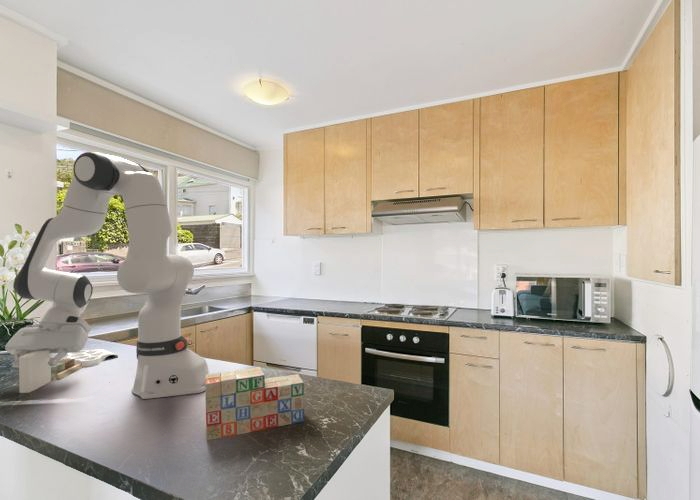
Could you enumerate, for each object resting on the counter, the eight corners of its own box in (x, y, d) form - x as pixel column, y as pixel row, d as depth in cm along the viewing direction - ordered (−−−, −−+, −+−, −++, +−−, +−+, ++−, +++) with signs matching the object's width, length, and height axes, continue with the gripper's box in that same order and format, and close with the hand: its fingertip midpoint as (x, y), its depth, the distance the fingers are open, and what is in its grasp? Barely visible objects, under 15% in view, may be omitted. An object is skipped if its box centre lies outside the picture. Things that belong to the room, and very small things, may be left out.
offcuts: (63, 369, 117) (63, 359, 117) (74, 369, 117) (74, 358, 117) (43, 378, 108) (43, 367, 108) (55, 378, 109) (55, 367, 109)
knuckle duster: (121, 362, 128) (72, 374, 116) (102, 354, 138) (55, 364, 127) (121, 353, 128) (72, 364, 116) (102, 345, 138) (55, 355, 127)
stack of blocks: (298, 410, 88) (298, 361, 88) (304, 422, 82) (304, 369, 82) (206, 427, 80) (205, 373, 80) (205, 441, 74) (204, 382, 74)
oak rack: (49, 372, 117) (49, 358, 117) (81, 371, 118) (81, 357, 118) (24, 383, 107) (24, 369, 107) (60, 382, 108) (59, 367, 108)
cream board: (41, 385, 106) (41, 349, 106) (50, 385, 106) (50, 348, 106) (19, 396, 98) (19, 357, 98) (29, 396, 98) (28, 356, 98)
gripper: (16, 319, 108) (-13, 361, 98) (87, 318, 110) (65, 359, 100) (28, 331, 112) (1, 372, 102) (96, 329, 114) (76, 369, 104)
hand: (33, 365), depth 101 cm, fingers open, 8 cm apart
